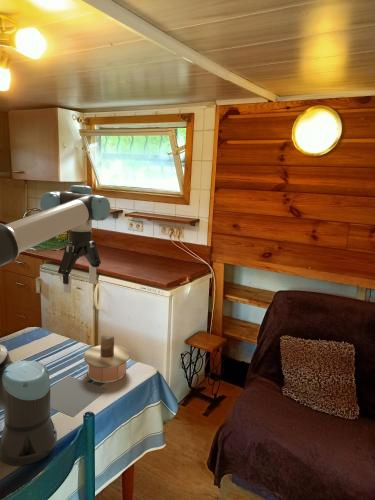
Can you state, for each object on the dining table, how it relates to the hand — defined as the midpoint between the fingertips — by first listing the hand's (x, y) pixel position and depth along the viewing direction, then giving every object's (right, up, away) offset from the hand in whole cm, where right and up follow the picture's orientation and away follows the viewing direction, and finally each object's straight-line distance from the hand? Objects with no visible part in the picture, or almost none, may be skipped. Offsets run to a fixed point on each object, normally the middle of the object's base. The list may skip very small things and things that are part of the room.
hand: (80, 287), depth 135 cm
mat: (-2, -37, -6) cm, 37 cm away
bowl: (+8, -34, +9) cm, 36 cm away
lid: (+8, -27, +8) cm, 29 cm away
